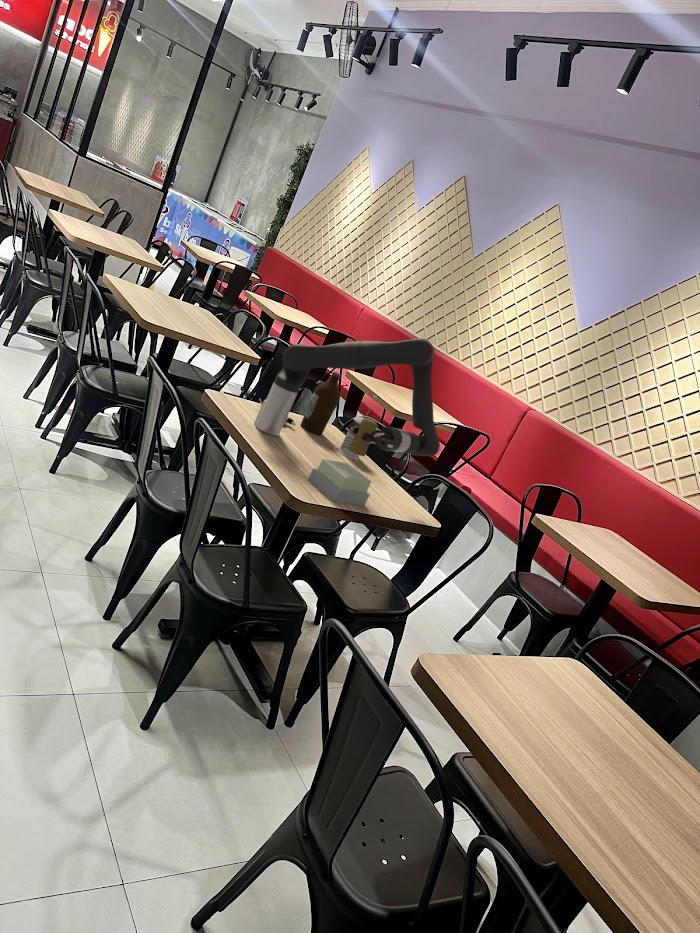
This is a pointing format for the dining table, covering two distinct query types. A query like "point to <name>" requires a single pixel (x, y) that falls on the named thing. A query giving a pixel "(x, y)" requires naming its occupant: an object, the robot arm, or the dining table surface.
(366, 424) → the olive pepper mill
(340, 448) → the french press
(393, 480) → the dining table surface
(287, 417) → the robot toy
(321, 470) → the green and grey box
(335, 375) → the olive oil
